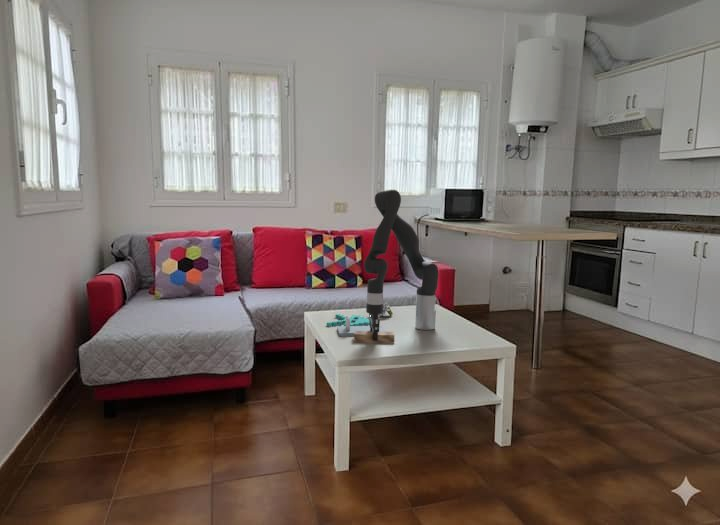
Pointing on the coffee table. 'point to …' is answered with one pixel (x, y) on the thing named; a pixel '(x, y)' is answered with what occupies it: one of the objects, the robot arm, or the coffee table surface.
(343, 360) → the coffee table surface
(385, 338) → the shelf board
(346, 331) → the peg stand
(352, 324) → the alien figure
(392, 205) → the robot arm
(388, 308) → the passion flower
